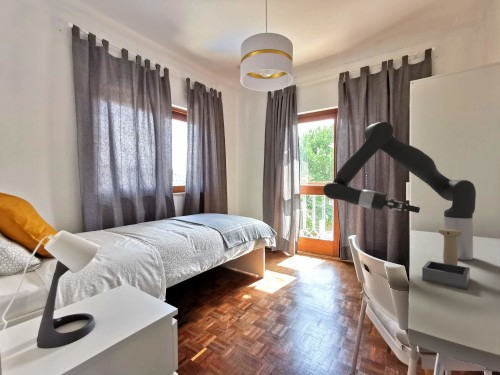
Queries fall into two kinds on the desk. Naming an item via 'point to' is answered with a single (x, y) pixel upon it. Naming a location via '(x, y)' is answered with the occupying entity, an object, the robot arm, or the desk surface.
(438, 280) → the grey square tray
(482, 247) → the desk surface
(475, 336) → the desk surface
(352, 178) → the robot arm
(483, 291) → the desk surface
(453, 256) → the handle
